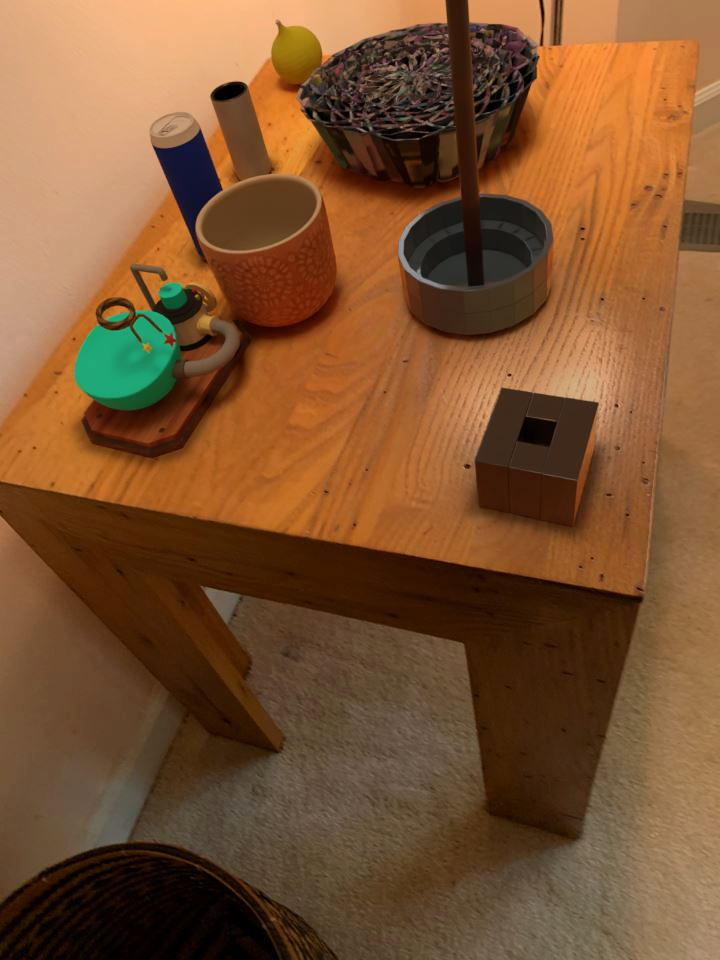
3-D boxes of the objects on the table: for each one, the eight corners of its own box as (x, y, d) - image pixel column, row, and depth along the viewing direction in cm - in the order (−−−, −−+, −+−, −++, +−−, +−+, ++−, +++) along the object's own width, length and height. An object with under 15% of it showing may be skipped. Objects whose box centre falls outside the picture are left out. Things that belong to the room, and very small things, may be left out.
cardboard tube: (250, 186, 92) (223, 105, 84) (230, 175, 95) (202, 95, 87) (278, 168, 94) (255, 86, 85) (258, 157, 96) (233, 77, 88)
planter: (286, 360, 73) (253, 270, 64) (207, 315, 79) (168, 228, 70) (370, 287, 77) (350, 193, 68) (289, 250, 83) (261, 160, 75)
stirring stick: (486, 279, 73) (470, -13, 53) (481, 290, 73) (463, -3, 52) (470, 277, 74) (448, -13, 53) (465, 288, 73) (442, -2, 52)
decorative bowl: (500, 228, 82) (504, 144, 73) (276, 194, 90) (257, 115, 82) (555, 103, 94) (564, 19, 86) (354, 83, 102) (346, 4, 94)
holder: (593, 451, 60) (598, 402, 55) (573, 526, 56) (577, 480, 52) (503, 435, 63) (501, 386, 58) (478, 506, 59) (474, 460, 54)
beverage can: (219, 230, 88) (171, 106, 76) (251, 241, 86) (206, 114, 74) (190, 257, 86) (136, 133, 74) (222, 268, 83) (171, 142, 72)
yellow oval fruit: (275, 97, 105) (254, 21, 97) (283, 72, 109) (263, -3, 101) (324, 90, 103) (307, 13, 96) (330, 65, 108) (314, -11, 100)
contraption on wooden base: (280, 330, 76) (234, 198, 64) (195, 468, 67) (122, 345, 55) (167, 312, 81) (104, 187, 69) (73, 438, 72) (-18, 320, 60)
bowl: (565, 251, 75) (568, 198, 70) (530, 350, 68) (531, 299, 63) (431, 239, 80) (425, 189, 75) (386, 330, 73) (376, 281, 68)
